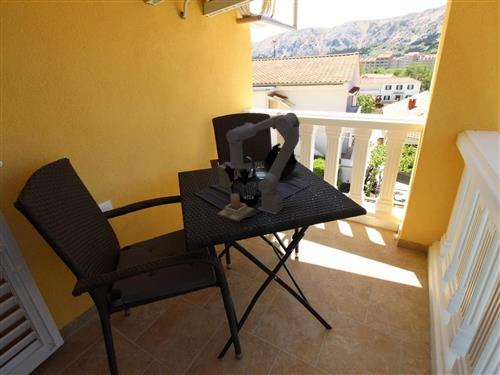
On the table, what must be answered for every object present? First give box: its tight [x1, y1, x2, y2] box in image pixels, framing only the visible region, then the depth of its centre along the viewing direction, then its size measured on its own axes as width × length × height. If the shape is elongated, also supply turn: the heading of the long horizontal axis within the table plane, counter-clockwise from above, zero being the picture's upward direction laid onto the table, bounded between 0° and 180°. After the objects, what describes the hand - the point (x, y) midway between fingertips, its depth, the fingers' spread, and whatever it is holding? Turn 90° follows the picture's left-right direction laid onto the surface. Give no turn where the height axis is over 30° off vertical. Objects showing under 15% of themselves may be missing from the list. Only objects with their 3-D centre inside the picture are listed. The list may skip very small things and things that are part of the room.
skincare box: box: [217, 163, 233, 189], centre depth 147 cm, size 6×4×12 cm
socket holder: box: [217, 202, 255, 222], centre depth 120 cm, size 12×12×3 cm
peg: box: [229, 193, 241, 210], centre depth 118 cm, size 4×4×8 cm
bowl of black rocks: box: [262, 142, 298, 179], centre depth 155 cm, size 20×20×19 cm
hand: (238, 182), depth 126 cm, fingers open, 7 cm apart
